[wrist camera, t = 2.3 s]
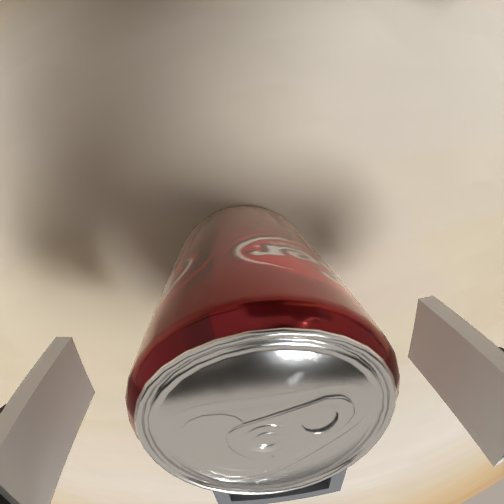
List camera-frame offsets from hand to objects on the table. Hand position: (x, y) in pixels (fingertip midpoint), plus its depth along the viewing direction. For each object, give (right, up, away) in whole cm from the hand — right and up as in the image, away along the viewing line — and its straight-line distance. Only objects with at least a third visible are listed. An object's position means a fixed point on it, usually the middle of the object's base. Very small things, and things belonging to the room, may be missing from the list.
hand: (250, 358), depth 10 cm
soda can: (0, +3, +8) cm, 8 cm away
